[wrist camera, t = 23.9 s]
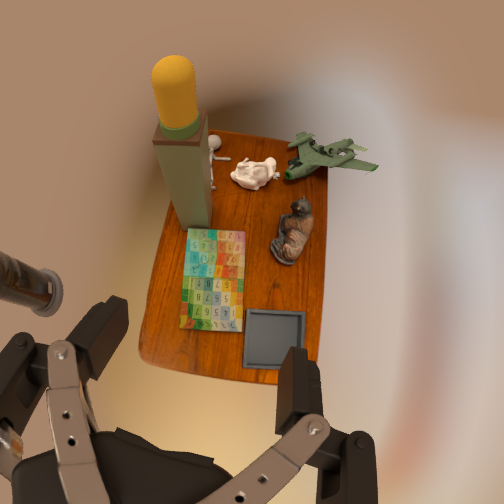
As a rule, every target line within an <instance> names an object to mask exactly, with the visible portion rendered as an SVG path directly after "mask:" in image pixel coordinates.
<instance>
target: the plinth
mask: <svg viewBox="0 0 504 504" xmlns="http://www.w3.org/2000/svg"><path fill="white" fill-rule="evenodd" d="M198 110H199V117H200V127H199V129H198V131H197V132H196V133H195V134H194V135H193V136H191V137H189V138H187V139H184V140H171V139H168V138H166V137H165V136H164V135H163V134H162V132H161V128H160V124H159V123H158V126H157V128H156V131H155V134H154V137H153V140H152V141H153V144H154V148H155V151H156V154H157V157H158V161H159V164H160V167H161V170H162V173H163V176H164V179H165V182H166V185H167V188H168V191H169V193H170V197H171V200H172V202H173V205H174V208H175V211H176V214H177V217H178V219H179V222H180V225H181V228H182V230H183V231H188V228H196V229H210V227H211V219H212V211H213V203H212V190H211V175H210V159H209V142H208V122H207V109H198Z"/></svg>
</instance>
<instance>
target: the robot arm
mask: <svg viewBox="0 0 504 504" xmlns="http://www.w3.org/2000/svg"><path fill="white" fill-rule="evenodd" d="M55 296H56V286H55V282H54V280H53V278H52V277H51V276H50V275H48V274H46V273H43V272H41V271H39V270H37V269H35V268H33V267H31V266H28V265H27V264H25V263H23V262H21V261H19V260H17V259H15V258H13V257H11V256H9V255H7V254H5V253H3V252H1V251H0V300H3V301H6V302H10V303H13V304H17V305H21V306H25V307H29V308H32V309H36V310H39V311H45V310H47V309H49V308H50V307H51V305H52V304H53V302H54V300H55ZM128 325H129V319H128V303H127V300H125V299H122V298H119V297H117V296H114V295H112V296H111V297H110V298H109V299H108V300H107V301H106V303H103V302H100V303H98V304H96V305H95V306H93V307H92V308H91V309H90V310H89V311H88V313H87V315H85V316H84V317H83V318H82V320H81V321H80V322H79V323H78V325H77V326H76V327H75V328H74V329H73V331H72V332H71V333H70V334H69V336H68V337H67V338H66V339H65V340H58V341H55V342H53V343H52V344H51V345H46V344H40V343H35V341H34V339H33V337H32V336H31V335H30V334H29V333H26V332H20V333H17V334H16V335H14V336H13V337H12V339H11V340H10V341H9V342H8V344H7V345H6V346H5V347H4V349H3V350H2V351H1V353H0V474H1V475H3V476H4V477H5V478H7V479H8V480H9V481H10V482H11V486H12V495H13V504H266V503H267V502H269V501H270V500H271V499H272V498H273V497H274V496H275V495H276V494H277V493H278V492H279V491H280V490H281V489H282V488H283V487H284V486H285V485H287V483H289V482H290V480H291V479H292V478H293V477H294V476H295V475H296V474H297V473H298V472H299V471H300V469H301V467H302V466H303V465H304V464H308V465H310V466H313V467H316V468H318V480H317V493H316V504H378V488H377V469H376V456H375V445H374V441H373V439H372V437H371V436H370V435H369V434H368V433H366V432H364V431H354V432H352V433H351V434H350V435H349V434H347V433H344V432H341V431H338V430H335V429H334V428H332V427H331V426H330V425H329V423H328V421H327V420H326V419H325V418H324V415H323V406H322V405H323V404H322V392H321V381H320V370H319V368H318V366H317V365H316V363H315V361H310V360H308V353H307V349H305V348H300V347H295V346H291V347H290V348H289V350H288V352H287V354H286V356H285V358H284V361H283V363H282V365H281V367H280V370H279V375H278V390H277V409H276V427H275V434H278V435H282V438H281V439H280V440H279V441H278V442H277V443H275V444H274V445H273V446H271V447H270V448H269V449H268V450H267V451H265V452H264V453H263V454H262V455H261V456H260V457H259V458H257V459H256V460H255V461H254V462H253V463H251V464H250V465H249V466H248V467H246V468H245V469H244V470H243V471H241V472H240V473H239V474H238V475H236V476H235V477H234V478H233V476H232V475H231V474H229V473H228V472H227V471H226V470H224V469H223V468H221V467H220V466H218V465H216V464H214V463H213V461H214V458H210V457H206V456H202V455H198V454H194V453H190V452H176V451H166V450H161V449H159V448H158V447H156V446H154V445H153V444H151V443H150V442H148V441H146V440H145V439H143V438H142V437H140V436H138V435H135V434H132V433H130V432H128V431H125V430H123V429H120V428H118V427H117V429H116V431H115V432H111V431H99V428H98V425H97V423H96V420H95V417H94V413H93V409H92V406H91V401H90V396H89V392H88V386H87V381H88V380H89V378H92V379H94V380H96V381H97V380H98V378H99V377H100V375H101V373H102V371H103V370H104V368H105V367H106V365H107V363H108V362H109V360H110V358H111V357H112V355H113V353H114V352H115V350H116V349H117V347H118V345H119V344H120V342H121V341H122V339H123V337H124V336H125V334H126V332H127V329H128ZM47 387H49V389H47V390H46V397H47V407H48V414H49V421H50V427H51V433H52V438H53V443H54V448H55V449H52V450H49V451H47V452H44V453H41V454H38V455H36V456H33V457H30V458H27V459H24V460H22V454H23V442H22V439H21V435H22V433H23V431H24V429H25V427H26V425H27V423H28V421H29V419H30V417H31V415H32V413H33V411H34V409H35V408H36V406H37V404H38V402H39V400H40V398H41V397H42V395H43V393H44V391H45V389H46V388H47Z"/></svg>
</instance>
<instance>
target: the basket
mask: <svg viewBox="0 0 504 504" xmlns="http://www.w3.org/2000/svg"><path fill="white" fill-rule="evenodd" d="M304 338H305V312H301V311H280V310H264V309H249V308H247V309H246V311H245V325H244V341H243V356H242V367H243V368H252V369H280V367H281V365H282V363H283V361H284V358H285V356H286V354H287V352H288V350H289V348H290V347H291V346H295V347H300V348H304Z"/></svg>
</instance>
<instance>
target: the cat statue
mask: <svg viewBox="0 0 504 504" xmlns="http://www.w3.org/2000/svg"><path fill="white" fill-rule="evenodd" d="M290 207H291V208H292V210H293V213H292V214H286V215H282V216H281V218H280V223H279V229H278V232H279V236H278V239H273V240H272V242H271V246H270V248H271V251H272V252H273V254H274V256H275V257H276V258H277V259H278V260H279V261H280V262H281V263H283V264H286V265H292V264H294V263H295V261H296V259H297V258H298V257H299V256H300V254H301V252H302V251H303V247H304V245H305V243H306V242H307V240H308V238H309V235H310V233H311V230H312V228H313V221H314V219H313V216H312V214H311V204H310V203H309V201H307V200H306V199H305V196H303V199H299V200H298V201H293V203H292V204H291V206H290Z"/></svg>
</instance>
